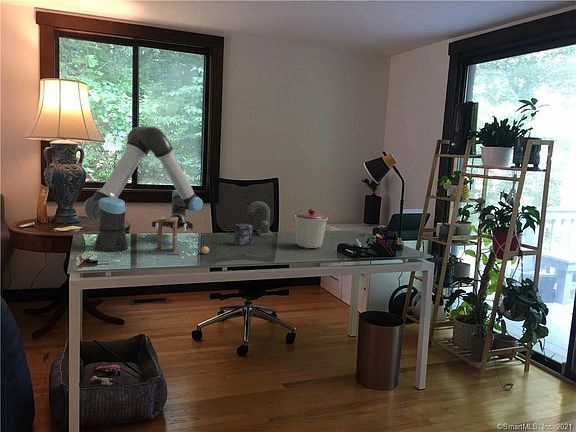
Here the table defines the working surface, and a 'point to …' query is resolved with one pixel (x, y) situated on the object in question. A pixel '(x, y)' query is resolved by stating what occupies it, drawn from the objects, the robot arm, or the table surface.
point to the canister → (310, 229)
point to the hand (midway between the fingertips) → (170, 227)
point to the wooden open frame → (159, 232)
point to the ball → (205, 250)
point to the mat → (166, 251)
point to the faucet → (265, 219)
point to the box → (243, 234)
